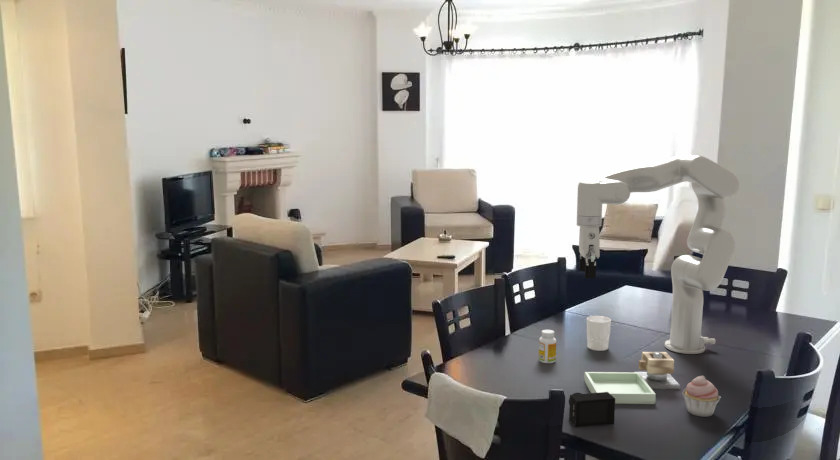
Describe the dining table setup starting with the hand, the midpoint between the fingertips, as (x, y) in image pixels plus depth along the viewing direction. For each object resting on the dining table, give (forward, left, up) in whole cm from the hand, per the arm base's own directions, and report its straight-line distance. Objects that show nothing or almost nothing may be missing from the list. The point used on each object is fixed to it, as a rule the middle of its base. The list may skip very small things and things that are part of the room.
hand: (587, 274), depth 208 cm
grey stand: (-17, +19, -28) cm, 38 cm away
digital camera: (+8, +46, -28) cm, 54 cm away
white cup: (-7, -11, -28) cm, 31 cm away
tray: (-4, +27, -28) cm, 39 cm away
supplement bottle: (+12, +2, -28) cm, 30 cm away
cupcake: (-22, +39, -28) cm, 53 cm away
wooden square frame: (-17, +19, -24) cm, 35 cm away
